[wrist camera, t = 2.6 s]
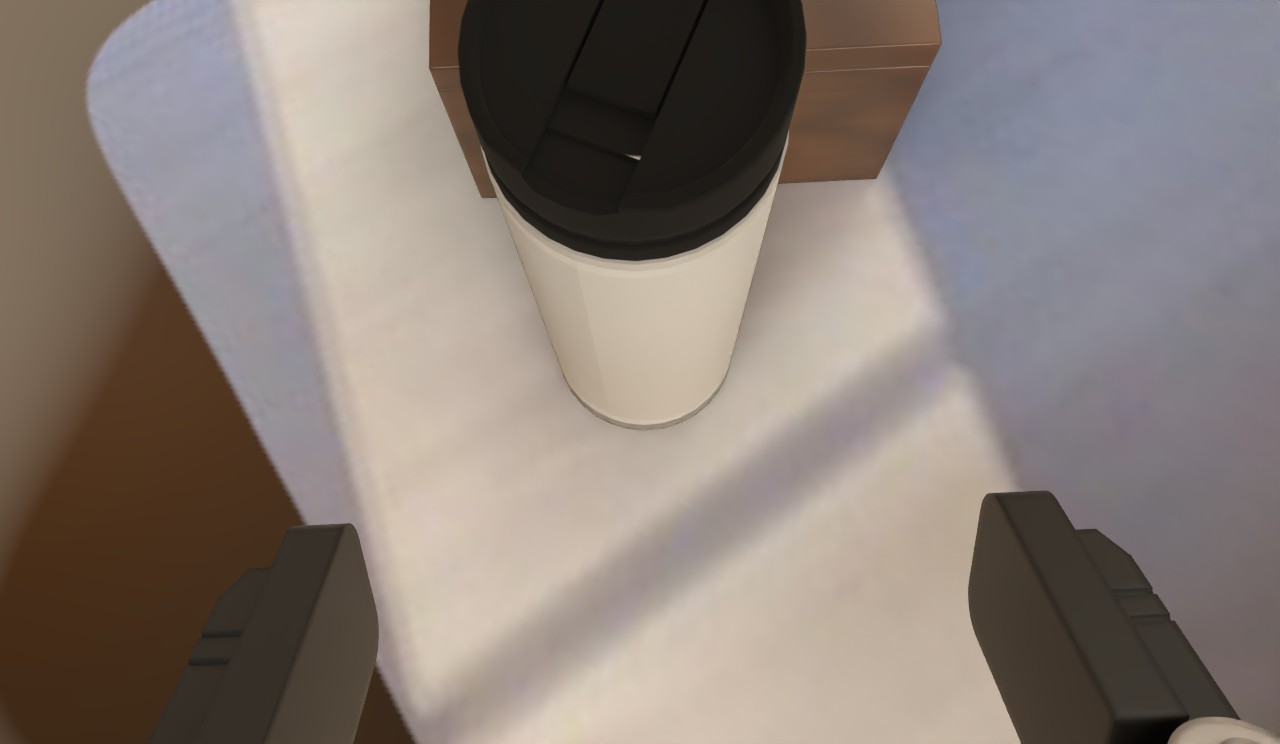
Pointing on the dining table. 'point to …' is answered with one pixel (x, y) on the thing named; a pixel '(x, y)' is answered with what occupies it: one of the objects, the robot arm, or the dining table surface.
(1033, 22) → the dining table surface
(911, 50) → the wooden box
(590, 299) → the travel mug
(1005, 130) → the dining table surface
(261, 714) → the robot arm
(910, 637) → the dining table surface
